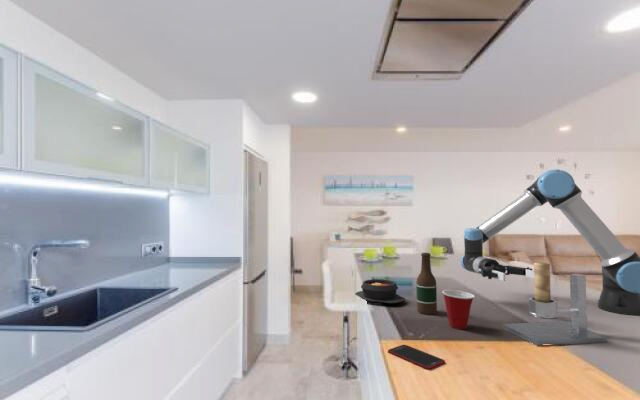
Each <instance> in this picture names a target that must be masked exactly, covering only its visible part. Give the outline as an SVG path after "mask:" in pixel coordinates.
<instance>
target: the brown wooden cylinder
mask: <svg viewBox="0 0 640 400" xmlns="http://www.w3.org/2000/svg"><path fill="white" fill-rule="evenodd" d="M533 267H534V268H533V269H534V270H533V271H534V279H533V280H534V297H535V301H538V302H545V303H549V302H551V299H552V298H551V295H552V294H551V263H547V262H534V263H533Z"/></svg>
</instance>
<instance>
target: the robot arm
mask: <svg viewBox="0 0 640 400" xmlns="http://www.w3.org/2000/svg"><path fill="white" fill-rule="evenodd" d="M582 193H583V191H582V190H581V189H580V188H579V186H578V185H577V184H576V182H575V179H574V178H573V176H572V175H571V174H570V173H569V172H568V171H566V170H562V169H549V170H547V171H545V172H544V173H542V174H541V175H539V176H538V177H537V179H536V180H535V181H534V182H533V183H532V184H530V185H529V186H528V187H527V188H525V191H524V193H523V194H521V195H520V196H519V197H517V198H516V199H514V200H513V201H511V202H510V203H509V204H507V205H506V206H505V207H504V208H502V209H500V210H499V211H498V212H496V213H494V214H493V215H492V216H490V217H489V218H488V219H487V220H485V221H484V222H483V223H481V224H480V225H478V226H477V227H476V228H471V227H470V228H465V229H464V233H463V238H464V239H463V240H464V241H463V242H464V254H463V255H462V256H461V259H460V261H459V262H460V265H461V267H462V268H463V269H464V270H466V271H468V272H470V273H471V272H472V273H474V274H478V275H480V276H481V277H483V278H486V277H487V278H488V280H492V279H496V280H498V281H499V280H500V281H502V282H506V276H510V275H517V276H523V277H524V276H525V277H527V278H531V279H533V280H534V270H533V268H530V266H527V267H519V266H514V265H513V266H512V265H503V264H500V263H499V262H498V261H497V260H496V259H493V258H489V257H485V256H484V255H483V254H484V252H483V251H484V250H483V249H484V248H483V247H484V243H486V242H487V241H489V240H490V239H491V238H493V237H494V236H495V235H497V234H499V233H500V232H502V231H503V230H505V229H506V228H507V227H509V226H510V225H511V224H513V223H514V222H516V221H518V220H519V219H521V218H523V216H524V215H527V213H530V211H532V210H533V209H535V208H536V207H542V206H544V205H545V204H546V203H548V204H549V205H550V206H551V207H552V208H553V209H557V210H560V211H561V213H562V214H563V215H564V216H565V217H566V218H567V220H568V221H569V222H570V224H571V225H572V226H574V228H575V229H576V230H577V231H578V233H579V234H580V235H581V236H582V237H583V238H584V239H583V240H585V241H586V242H587V244H588V245H590V247H591V248H592V249H593V250H594V252H595V253H596V254H597V255H598V256H599V258H600V259H601V260H600V262H601V274H602V275H601V279H602V280H601V281H602V282H601V283H602V290H601V293H600V295H599V299H598V300H597V307H598V308H599V309H601V310H603V311H607V312H612V313H617V314H623V315H632V316H640V255H639V254H638V253H637V252H636V251H635V250H634V249H632V248H631V249H630V248H627V247H626V246H625V245H624V244H623V243H622V242H621V241H620V240H619V239H618V237H617V236H616V235H615V234H614V233H613V231H611V229H609V227H608V226H607V225H606V223H604V221H603V220H602V219H601V218H600V217H599V216H598V215H597V213H596V212H595V211H594V210H593V208H592V207H590V206H589V204H588V203H587V202H586V201H585V200H584V199H583V197H582Z"/></svg>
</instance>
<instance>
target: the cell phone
mask: <svg viewBox="0 0 640 400" xmlns="http://www.w3.org/2000/svg"><path fill="white" fill-rule="evenodd" d="M387 353H388V354H389V355H392V356H394V357H397V358H398V359H401V360H404V361H405V362H409V363H411V364H412V365H415V366H418V367H420V368H422V369H424V370H427V371H431V370H434V369H436V368H439V367H441V366H443V365H445V364H446V361H445V360H446V359H443V358H440V357H438V356H436V355H433V354H430V353H428V352H425V351H422V350H420V349H419V348H415V347H413V346H409V345H408V344H401V345H398V346H395V347H392V348H390V349H387Z"/></svg>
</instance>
